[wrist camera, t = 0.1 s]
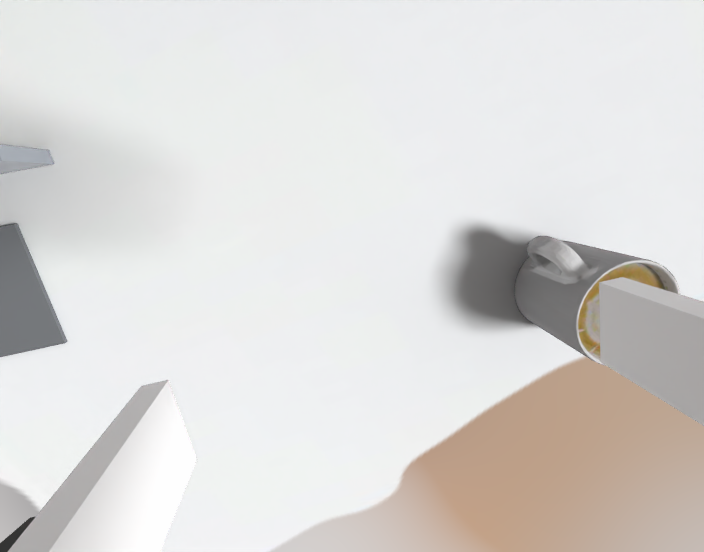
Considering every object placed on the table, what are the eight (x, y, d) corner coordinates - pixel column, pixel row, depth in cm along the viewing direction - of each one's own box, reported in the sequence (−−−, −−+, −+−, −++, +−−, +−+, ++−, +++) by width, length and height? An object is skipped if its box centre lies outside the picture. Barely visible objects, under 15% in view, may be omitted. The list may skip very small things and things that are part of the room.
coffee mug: (610, 293, 44) (696, 325, 34) (538, 342, 44) (602, 387, 34) (562, 196, 40) (643, 201, 30) (484, 250, 41) (539, 272, 31)
